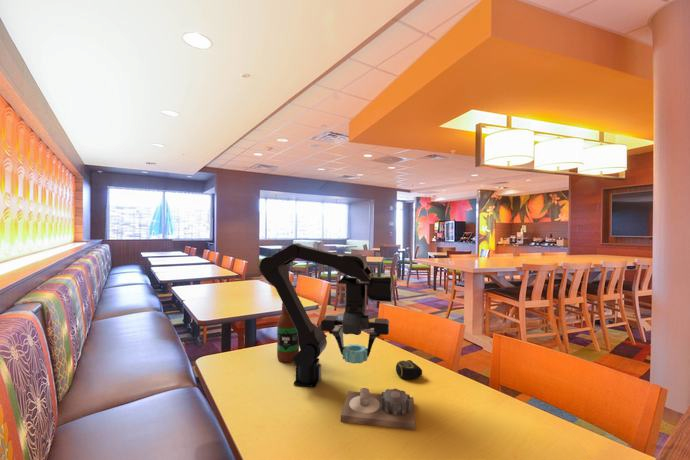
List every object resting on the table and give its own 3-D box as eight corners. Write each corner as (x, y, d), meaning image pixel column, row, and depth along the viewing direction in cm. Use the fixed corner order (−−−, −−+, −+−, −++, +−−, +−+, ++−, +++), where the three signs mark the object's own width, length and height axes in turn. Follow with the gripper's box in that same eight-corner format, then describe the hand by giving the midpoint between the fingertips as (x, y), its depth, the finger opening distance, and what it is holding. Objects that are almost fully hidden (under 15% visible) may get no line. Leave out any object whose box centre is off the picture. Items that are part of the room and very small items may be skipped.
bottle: (273, 361, 107) (273, 286, 106) (282, 353, 114) (282, 282, 113) (294, 364, 105) (294, 288, 105) (301, 355, 112) (302, 284, 112)
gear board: (340, 421, 75) (340, 400, 75) (348, 396, 86) (348, 377, 85) (415, 430, 72) (415, 408, 72) (413, 403, 83) (413, 383, 83)
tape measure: (423, 379, 96) (423, 367, 96) (402, 383, 93) (402, 370, 93) (411, 369, 102) (411, 358, 102) (392, 372, 100) (392, 360, 100)
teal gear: (340, 363, 87) (340, 352, 87) (345, 353, 94) (345, 342, 94) (366, 365, 86) (366, 354, 86) (368, 354, 93) (368, 344, 93)
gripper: (315, 305, 83) (315, 364, 84) (388, 308, 80) (387, 370, 81) (325, 295, 94) (325, 348, 95) (389, 298, 91) (389, 353, 92)
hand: (355, 355), depth 90 cm, fingers closed on teal gear, 7 cm apart
